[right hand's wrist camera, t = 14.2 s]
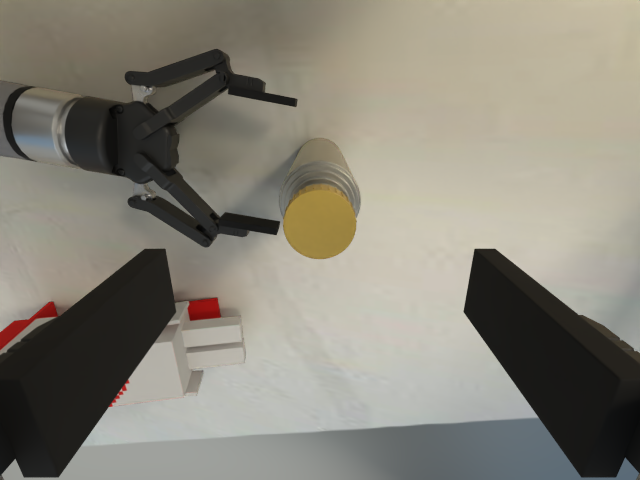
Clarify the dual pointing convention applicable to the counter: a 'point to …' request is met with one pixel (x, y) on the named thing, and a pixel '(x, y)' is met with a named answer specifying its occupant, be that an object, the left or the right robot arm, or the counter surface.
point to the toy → (166, 350)
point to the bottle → (319, 173)
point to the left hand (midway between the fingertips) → (287, 169)
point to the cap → (319, 221)
